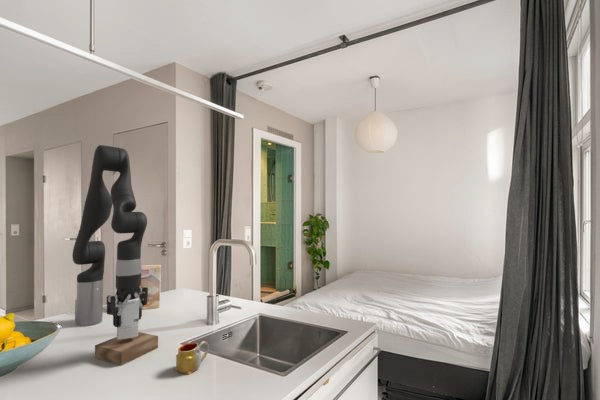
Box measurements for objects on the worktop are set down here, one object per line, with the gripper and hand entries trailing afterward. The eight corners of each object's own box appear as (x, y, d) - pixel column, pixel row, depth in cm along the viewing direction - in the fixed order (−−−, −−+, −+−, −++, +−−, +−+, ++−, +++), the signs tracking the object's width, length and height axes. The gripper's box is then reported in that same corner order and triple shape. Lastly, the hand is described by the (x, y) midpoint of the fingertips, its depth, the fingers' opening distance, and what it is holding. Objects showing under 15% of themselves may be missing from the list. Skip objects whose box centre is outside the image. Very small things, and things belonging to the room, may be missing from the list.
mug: (186, 377, 96) (187, 353, 96) (170, 370, 99) (171, 348, 99) (217, 360, 106) (217, 339, 106) (201, 355, 110) (202, 334, 110)
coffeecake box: (124, 311, 154) (124, 268, 155) (126, 307, 161) (126, 265, 161) (159, 308, 160) (160, 266, 160) (160, 304, 166) (160, 264, 167)
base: (94, 358, 107) (94, 345, 107) (132, 341, 120) (132, 330, 120) (121, 365, 102) (121, 352, 102) (157, 347, 115) (158, 335, 115)
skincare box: (117, 340, 108) (118, 302, 108) (116, 336, 111) (117, 299, 112) (139, 336, 111) (139, 299, 111) (137, 332, 115) (137, 296, 115)
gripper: (138, 267, 120) (137, 315, 119) (100, 275, 107) (99, 328, 106) (154, 269, 117) (153, 318, 116) (117, 277, 104) (116, 332, 103)
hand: (127, 322), depth 111 cm, fingers closed on skincare box, 7 cm apart
